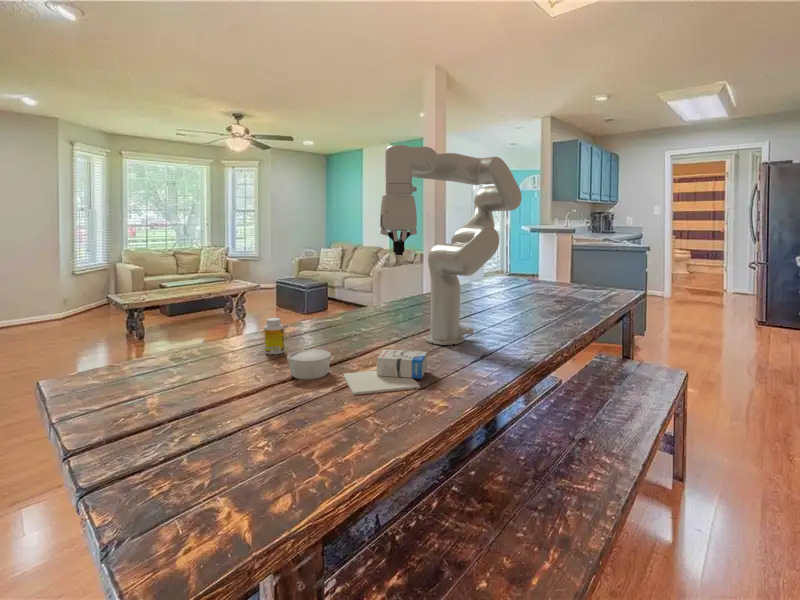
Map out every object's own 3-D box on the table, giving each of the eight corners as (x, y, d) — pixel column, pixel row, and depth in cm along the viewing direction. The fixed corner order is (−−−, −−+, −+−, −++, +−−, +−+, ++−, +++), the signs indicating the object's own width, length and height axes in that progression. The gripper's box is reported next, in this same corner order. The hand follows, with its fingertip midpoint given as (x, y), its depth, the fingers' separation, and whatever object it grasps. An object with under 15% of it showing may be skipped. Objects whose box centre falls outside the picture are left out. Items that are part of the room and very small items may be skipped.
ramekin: (293, 367, 131) (293, 348, 130) (334, 367, 131) (334, 348, 130) (282, 381, 120) (281, 360, 119) (327, 381, 120) (327, 361, 119)
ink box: (422, 360, 119) (376, 357, 121) (422, 379, 119) (375, 376, 122) (427, 351, 127) (383, 348, 129) (427, 369, 128) (383, 365, 130)
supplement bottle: (285, 354, 143) (284, 320, 142) (266, 355, 142) (264, 321, 140) (283, 349, 149) (281, 316, 147) (264, 351, 147) (262, 317, 145)
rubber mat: (403, 370, 128) (403, 368, 128) (419, 388, 115) (419, 385, 115) (343, 375, 124) (343, 373, 124) (353, 394, 111) (353, 392, 111)
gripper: (419, 191, 144) (418, 253, 147) (370, 191, 140) (370, 254, 143) (427, 190, 137) (427, 255, 140) (376, 189, 133) (376, 256, 136)
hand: (398, 254), depth 142 cm, fingers closed
